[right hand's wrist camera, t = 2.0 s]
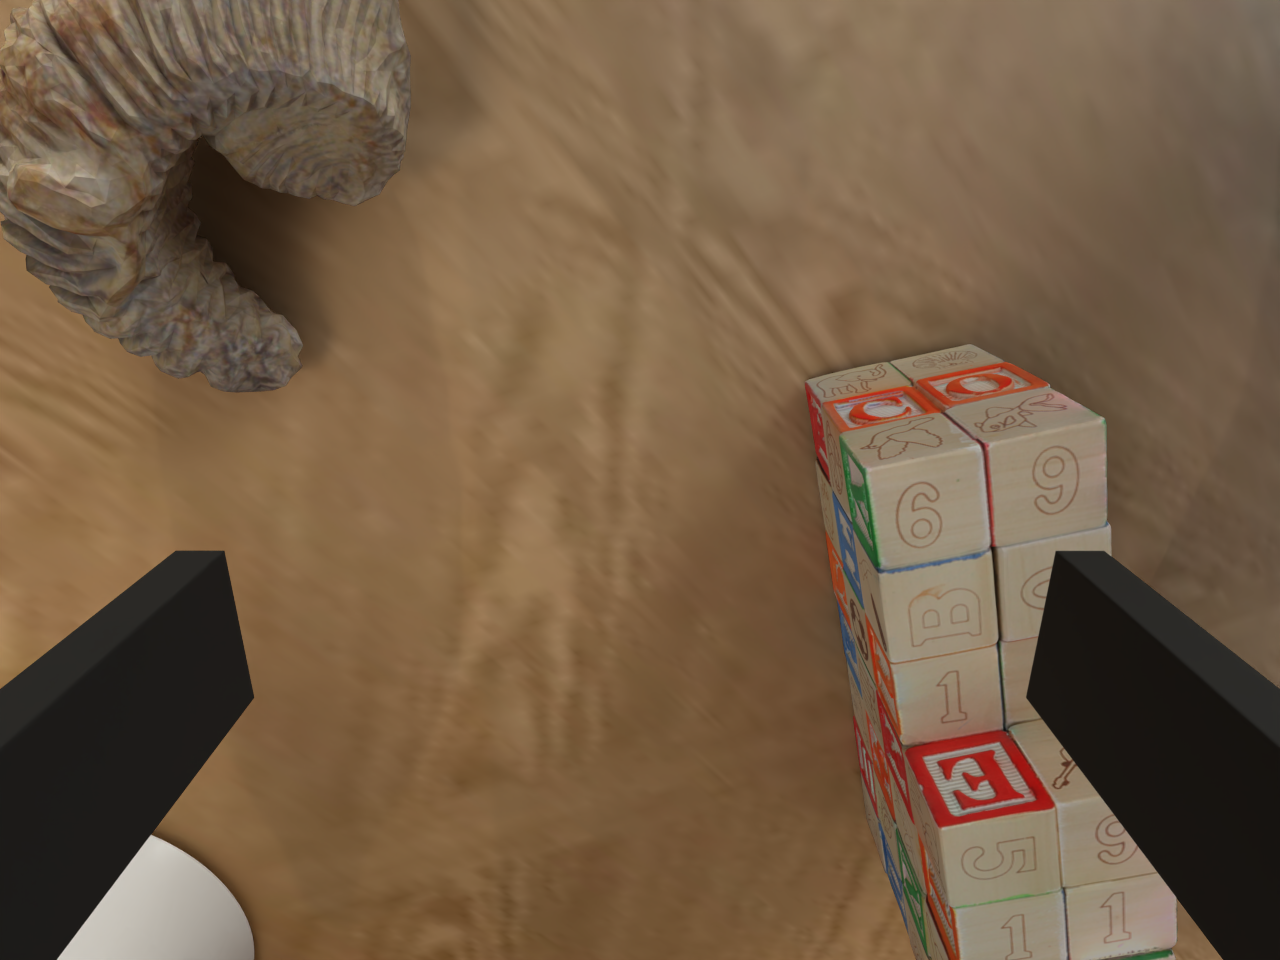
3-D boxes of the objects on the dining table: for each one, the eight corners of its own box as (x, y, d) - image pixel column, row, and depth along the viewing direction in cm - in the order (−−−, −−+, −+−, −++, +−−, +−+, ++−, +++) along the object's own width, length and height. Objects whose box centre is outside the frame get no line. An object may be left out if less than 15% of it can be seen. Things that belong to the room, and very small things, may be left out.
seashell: (414, -21, 27) (197, -307, 18) (555, 216, 26) (405, 50, 16) (129, 201, 30) (-204, 56, 20) (246, 428, 29) (-47, 394, 19)
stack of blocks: (797, 376, 29) (900, 512, 17) (971, 338, 28) (1197, 453, 17) (866, 822, 36) (970, 1123, 25) (1005, 799, 36) (1176, 1095, 24)
